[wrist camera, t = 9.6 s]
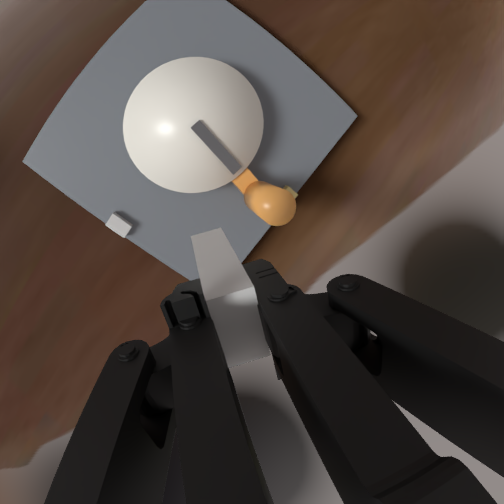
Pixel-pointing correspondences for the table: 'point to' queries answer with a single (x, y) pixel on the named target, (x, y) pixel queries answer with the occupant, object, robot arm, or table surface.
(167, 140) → the dial
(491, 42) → the table surface
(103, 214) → the panel
